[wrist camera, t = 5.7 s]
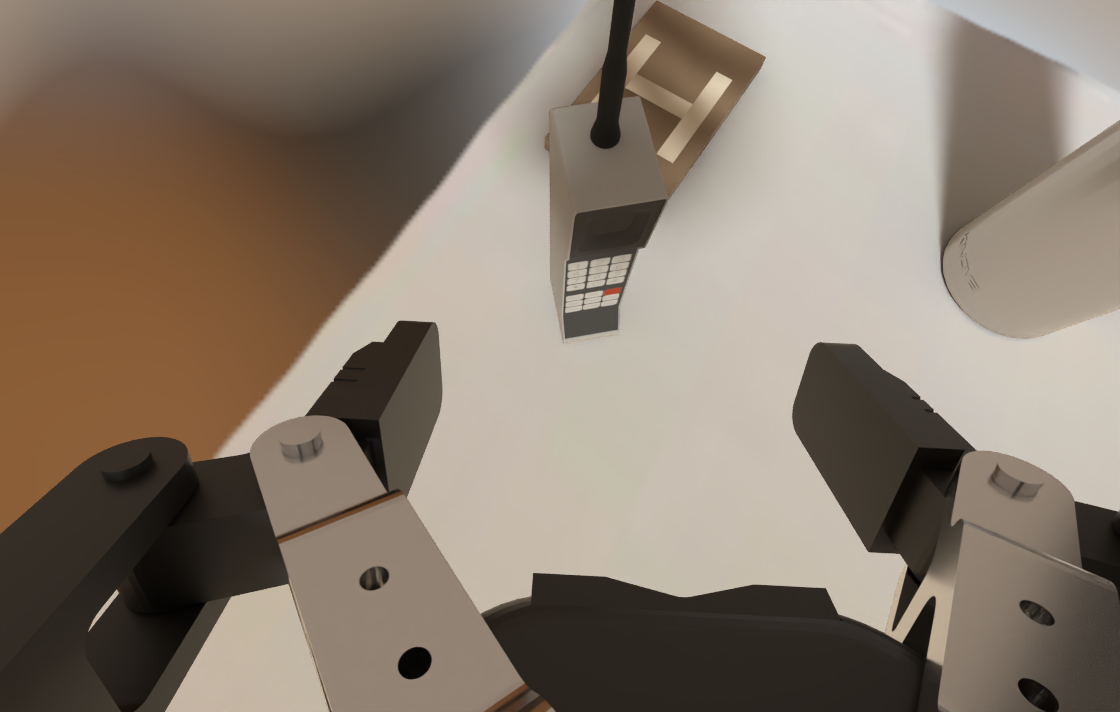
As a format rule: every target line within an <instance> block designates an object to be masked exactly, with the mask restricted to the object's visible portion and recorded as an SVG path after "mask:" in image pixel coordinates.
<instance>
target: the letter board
mask: <svg viewBox="0 0 1120 712" xmlns="http://www.w3.org/2000/svg"><path fill="white" fill-rule="evenodd" d="M765 58H766V57H765V56H763V55H761V54H759V53H757V52H755V51H753V50H751V49H749V48H747V47H745V46H743V45H741V44H740V43H738V42H736V41H734V40H732V39H730V38H728V37H726V36H724V35H722V34H720V33H718V32H716V31H714V30H713V29H711V28H709V27H707V26H705V25H703V24H701V23H699V22H697V21H695V20H693V19H691V18H689V17H687V16H686V15H684V14H682V13H680V12H678V11H676V10H674V9H672V8H670V7H668V6H666V5H664V4H662V3H660V2H659V1H656V2H655V3H654V4H653V6H652V7H651V8H650V9H649V10H648V12H647V13H646V14H645V15H644V17H643V18H642V19H641V20H640V21H639V23H638V24H637V25H636V26H635V28H634V29H633V30H632V31H631V33H630V36H629V42H628V48H627V76H626V82H625V88H624V93H623V98H628V97H635V96H639V97H640V99H641V102H642V106H643V109H644V113H645V116H646V120H647V124H648V127H649V131H650V134H651V138H652V141H653V145H654V148H655V152H656V156H657V159H658V163H659V166H660V170H661V173H662V177H663V181H664V184H665V188H666V191H667V195H668V200H669V198H670V197H671V195H672V194H673V193H674V191H675V190H676V188H677V187H678V185H679V184H680V183H681V181H682V180H683V178H684V177H685V175H686V174H687V173H688V171H689V170H690V168H691V167H692V166H693V164H694V163H695V161H696V160H697V158H698V157H699V156H700V154H701V153H702V151H703V150H704V149H705V147H706V146H707V144H708V143H709V141H710V140H711V139H712V137H713V136H714V134H715V133H716V131H717V130H718V129H719V127H720V126H721V124H722V123H723V122H724V120H725V119H726V117H727V116H728V114H729V113H730V112H731V110H732V109H733V107H734V106H735V104H736V103H737V102H738V100H739V99H740V97H741V96H742V95H743V93H744V92H745V90H746V89H747V87H748V86H749V85H750V83H751V82H752V80H753V79H754V77H755V76H756V75H757V73H758V72H759V70H760V69H761V67H762V65H763V62H764V60H765ZM601 74H602V68H601V69H600V71H599V72H598V73H597V74H596V76H595V77H594V78H593V79H592V81H591V82H590V83H589V84H588V85H587V87H586V88H585V89H584V90H583V92H582V93H581V94H580V95H579V96H578V98H577V99H576V100H575V101H574V103H573V104H572V105H571V106H573V105H580V104H587V103H594V102H598V100H599V91H600V83H601ZM545 149H546V150H548V151H550V136H549V133H548V135H547V136H546V137H545Z"/></svg>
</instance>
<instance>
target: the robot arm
mask: <svg viewBox="0 0 1120 712" xmlns="http://www.w3.org/2000/svg"><path fill="white" fill-rule="evenodd" d="M943 274H944V277H945V281H946V284H947V287H948V289H949V291H950V293H951V295H952V297H953V298H954V300H955V301H956V302H957V304H958V305H959V306H960V308H961V309H962V310H963V311H964V312H965V313H966V314H967V315H968V316H970V317H971V318H972V319H973V320H974V321H976V322H977V323H979V324H980V325H982V326H983V327H985V328H987V329H989V330H991V331H994V332H996V333H998V334H1001V335H1005V336H1009V337H1013V338H1033V337H1039V336H1043V335H1046V334H1049V333H1052V332H1055V331H1057V330H1060V329H1063V328H1066V327H1069V326H1072V325H1075V324H1077V323H1080V322H1083V321H1086V320H1089V319H1092V318H1095V317H1098V316H1101V315H1104V314H1107V313H1109V312H1112V311H1115V310H1118V309H1120V120H1119V121H1118V122H1116V123H1115V124H1113V125H1112V126H1110V127H1109V128H1107V129H1106V130H1104V131H1103V132H1102V133H1100V134H1099V135H1097V136H1096V137H1094V138H1093V139H1091V140H1090V141H1088V142H1087V143H1085V144H1084V145H1082V146H1081V147H1080V148H1078V149H1077V150H1075V151H1074V152H1072V153H1071V154H1069V155H1068V156H1066V157H1065V158H1063V159H1062V160H1061V161H1059V162H1058V163H1056V164H1055V165H1053V166H1052V167H1050V168H1049V169H1047V170H1046V171H1044V172H1043V173H1041V174H1040V175H1039V176H1037V177H1036V178H1034V179H1033V180H1031V181H1030V182H1028V183H1027V184H1025V185H1024V186H1022V187H1021V188H1019V189H1018V190H1017V191H1015V192H1014V193H1012V194H1011V195H1009V196H1008V197H1006V198H1005V199H1003V200H1002V201H1000V202H999V203H997V204H996V205H995V206H993V207H992V208H990V209H989V210H987V211H986V212H985V213H983V214H982V215H980V216H979V217H977V218H976V219H974V220H973V221H971V222H970V223H969V224H967V225H966V226H964V227H963V228H961V229H960V230H958V231H957V232H956V233H955V234H954V235H953V237H952V238H951V239H950V240H949V242H948V245H947V247H946V249H945V252H944V257H943ZM441 402H442V376H441V362H440V347H439V334H438V328H437V325H436V323H435V322H417V321H398V322H397V324H396V325H395V327H394V328H393V330H392V331H391V332H390V334H389V335H388V337H387V338H386V340H385V341H384V342H371V343H370V344H368V345H366V346H365V347H363V348H361V349H360V350H358V351H356V352H355V353H353V354H352V356H351V357H350V358H349V360H348V361H347V362H346V363H345V365H344V366H343V370H340V371H339V373H338V374H337V375H336V376H335V378H334V382H331V383H330V384H329V386H328V387H327V388H326V389H325V391H324V392H323V393H322V395H321V396H320V397H319V399H318V400H317V401H316V402H315V404H314V405H313V406H312V408H311V409H310V410H309V412H308V413H307V414H306V415H305V416H304V417H298V418H294V419H290V420H287V421H284V422H282V423H279V424H277V425H275V426H273V427H271V428H270V429H268V430H267V431H265V432H264V433H262V434H261V435H260V436H259V437H258V438H257V439H256V440H255V442H254V443H253V445H252V447H251V450H250V453H247V454H242V455H237V456H231V457H225V458H218V459H211V460H205V461H199V462H192V460H191V457H190V455H189V453H188V449H187V447H186V446H185V444H183V443H182V442H180V441H178V440H176V439H172V438H166V437H151V438H143V439H137V440H132V441H129V442H126V443H122V444H119V445H116V446H113V447H111V448H108V449H106V450H104V451H102V452H100V453H98V454H96V455H94V456H92V457H91V458H89V459H87V460H86V461H84V462H83V463H82V464H80V465H79V466H78V467H77V468H75V469H74V470H73V471H72V472H71V473H70V474H69V475H67V476H66V477H65V478H64V479H63V480H62V481H61V482H59V483H58V484H57V485H56V486H55V487H54V488H52V489H51V490H50V491H49V492H48V493H47V494H46V495H45V496H43V497H42V498H41V499H40V500H39V501H38V502H36V503H35V504H34V505H33V506H32V507H31V508H30V509H28V510H27V511H26V512H25V513H24V514H23V515H22V516H21V517H19V518H18V519H17V520H16V521H15V522H14V523H12V524H11V525H10V526H9V527H8V528H7V529H6V530H5V531H3V532H2V533H1V534H0V712H165V711H166V709H167V707H168V705H169V704H170V702H171V700H172V698H173V697H174V695H175V693H176V692H177V690H178V688H179V686H180V685H181V683H182V681H183V679H184V678H185V676H186V674H187V672H188V671H189V669H190V667H191V665H192V664H193V662H194V660H195V659H196V657H197V655H198V653H199V652H200V650H201V648H202V646H203V645H204V643H205V641H206V639H207V638H208V636H209V634H210V632H211V631H212V629H213V627H214V625H215V624H216V622H217V620H218V619H219V617H220V615H221V613H222V612H223V610H224V608H225V606H226V605H227V603H228V601H229V599H230V598H231V596H236V595H240V594H245V593H249V592H254V591H258V590H263V589H267V588H272V587H276V586H281V585H285V584H289V587H290V590H291V593H292V597H293V600H294V603H295V606H296V609H297V612H298V616H299V619H300V622H301V625H302V628H303V631H304V635H305V638H306V641H307V644H308V647H309V650H310V654H311V657H312V660H313V663H314V666H315V669H316V673H317V676H318V679H319V682H320V685H321V689H322V692H323V695H324V698H325V702H326V705H327V708H328V711H329V712H1120V510H1119V512H1117V511H1113V510H1109V509H1105V508H1101V507H1097V506H1093V505H1089V504H1084V503H1080V502H1076V501H1074V499H1073V496H1072V494H1071V493H1070V491H1069V490H1068V489H1067V488H1066V487H1065V486H1064V485H1063V484H1062V483H1061V482H1060V481H1059V480H1057V479H1056V478H1055V477H1053V476H1052V475H1050V474H1049V473H1047V472H1045V471H1044V470H1042V469H1040V468H1038V467H1036V466H1035V465H1032V464H1030V463H1028V462H1026V461H1023V460H1021V459H1018V458H1015V457H1012V456H1009V455H1006V454H1002V453H997V452H991V451H977V450H975V449H974V448H973V447H972V446H971V445H970V444H969V443H968V442H967V441H966V440H965V439H964V438H963V437H962V436H961V435H960V434H959V433H958V432H957V431H956V430H954V429H953V428H952V427H951V426H950V425H949V424H948V423H947V422H946V421H945V420H944V419H943V418H942V417H941V416H940V415H939V414H938V413H934V412H933V409H932V408H931V407H930V406H929V405H928V404H927V403H926V402H925V401H924V400H920V396H919V395H918V394H917V393H916V392H915V391H914V390H913V389H911V388H910V387H909V386H908V385H907V384H906V383H905V382H904V381H902V380H900V379H899V378H897V377H895V376H893V375H892V374H890V373H888V372H886V371H885V370H883V369H882V368H881V367H880V366H879V365H878V364H877V363H876V362H875V361H874V360H873V359H872V358H871V357H870V356H869V355H868V354H867V353H866V352H865V351H864V350H863V349H862V348H861V347H859V346H858V345H856V344H840V343H821V342H820V343H817V344H816V345H815V346H814V347H813V348H812V350H811V352H810V354H809V357H808V361H807V364H806V367H805V370H804V373H803V376H802V380H801V383H800V386H799V389H798V392H797V395H796V398H795V402H794V405H793V413H792V418H793V426H794V429H795V432H796V434H797V435H798V437H799V439H800V440H801V442H802V444H803V445H804V447H805V449H806V450H807V452H808V453H809V455H810V457H811V458H812V460H813V462H814V463H815V465H816V467H817V468H818V470H819V472H820V473H821V475H822V477H823V478H824V480H825V481H826V483H827V485H828V486H829V488H830V490H831V491H832V493H833V495H834V496H835V498H836V500H837V501H838V503H839V505H840V506H841V508H842V509H843V511H844V513H845V514H846V516H847V518H848V519H849V521H850V523H851V524H852V526H853V528H854V529H855V531H856V533H857V534H858V536H859V537H860V539H861V541H862V542H863V544H864V546H865V547H866V549H867V551H868V552H876V553H895V554H900V555H901V556H902V558H903V559H904V561H905V562H906V565H905V566H904V568H903V570H902V572H901V574H900V576H899V580H898V584H897V588H896V591H895V595H894V599H893V603H892V607H891V610H890V614H889V618H888V622H887V625H886V629H885V633H883V632H881V631H879V630H877V629H875V628H873V627H870V626H868V625H866V624H864V623H861V622H859V621H856V620H853V619H851V618H848V617H845V616H842V615H838V613H837V611H836V609H835V607H834V605H833V603H832V600H831V598H830V596H829V594H828V592H827V590H826V588H809V587H790V586H771V585H749V586H744V587H739V588H734V589H729V590H724V591H719V592H714V593H709V594H703V595H698V596H693V597H677V596H673V595H669V594H665V593H662V592H658V591H655V590H651V589H647V588H644V587H640V586H637V585H633V584H629V583H626V582H622V581H618V580H615V579H611V578H608V577H599V576H580V575H560V574H541V573H533V583H532V596H531V597H526V598H521V599H517V600H513V601H510V602H507V603H504V604H501V605H499V606H496V607H494V608H492V609H490V610H487V611H485V612H483V613H482V614H480V613H479V611H478V610H477V608H476V606H475V605H474V603H473V602H472V600H471V599H470V597H469V595H468V594H467V592H466V591H465V589H464V588H463V586H462V584H461V583H460V581H459V580H458V578H457V577H456V575H455V573H454V572H453V570H452V569H451V567H450V565H449V564H448V562H447V561H446V559H445V558H444V556H443V554H442V553H441V551H440V550H439V548H438V547H437V545H436V543H435V542H434V540H433V539H432V537H431V536H430V534H429V532H428V531H427V529H426V528H425V526H424V524H423V523H422V521H421V520H420V518H419V517H418V515H417V513H416V512H415V510H414V509H413V507H412V506H411V504H410V502H409V501H408V499H407V496H408V493H409V491H410V488H411V485H412V483H413V480H414V478H415V475H416V472H417V470H418V467H419V465H420V462H421V460H422V457H423V454H424V452H425V449H426V447H427V444H428V442H429V439H430V436H431V434H432V431H433V429H434V426H435V423H436V421H437V418H438V416H439V413H440V408H441ZM116 589H117V590H118V592H119V594H118V595H117V597H116V598H115V599H114V600H113V602H112V603H111V604H110V605H109V607H108V608H107V609H106V611H105V612H104V613H103V614H102V616H101V617H100V618H99V619H98V621H97V622H96V623H95V624H94V626H93V627H92V628H91V630H90V631H89V632H88V630H89V628H90V626H91V623H92V621H93V620H94V618H95V616H96V615H97V613H98V612H99V611H100V609H101V608H102V607H103V606H104V604H105V603H106V602H107V601H108V599H109V598H110V597H111V596H112V594H113V593H114V592H115V591H116Z"/></svg>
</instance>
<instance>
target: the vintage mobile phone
mask: <svg viewBox="0 0 1120 712" xmlns="http://www.w3.org/2000/svg"><path fill="white" fill-rule="evenodd" d="M634 6H635V0H614V5H613V13H612V22H611V30H610V38H609V46H608V52H607V55H606V58H605V61H604V64H603V67H602V74H601V83H600V91H599V100H598V102H594V103H587V104H580V105H573V106H566V107H560V108H553V109H551V110H550V112H549V136H550V279H551V284H552V289H553V294H554V299H555V304H556V309H557V314H558V319H559V324H560V329H561V334H562V339H563V343H564V344H568V343H574V342H580V341H585V340H591V339H597V338H602V337H608V336H614V335H617V334H618V332H619V318H620V304H621V301H622V298H623V295H624V292H625V289H626V286H627V283H628V280H629V277H630V274H631V271H632V268H633V265H634V262H635V259H636V256H637V253H638V250H639V249H641V248H645V247H646V245H647V243H648V241H649V239H650V237H651V235H652V233H653V231H654V229H655V227H656V224H657V222H658V220H659V218H660V216H661V214H662V212H663V210H664V208H665V206H666V204H667V202H668V195H667V191H666V188H665V184H664V181H663V177H662V173H661V170H660V166H659V163H658V159H657V156H656V152H655V148H654V145H653V141H652V138H651V134H650V131H649V127H648V124H647V120H646V116H645V113H644V109H643V106H642V102H641V99H640V97H639V96H635V97H628V98H623V93H624V88H625V82H626V76H627V48H628V42H629V36H630V30H631V24H632V18H633V12H634Z"/></svg>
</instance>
